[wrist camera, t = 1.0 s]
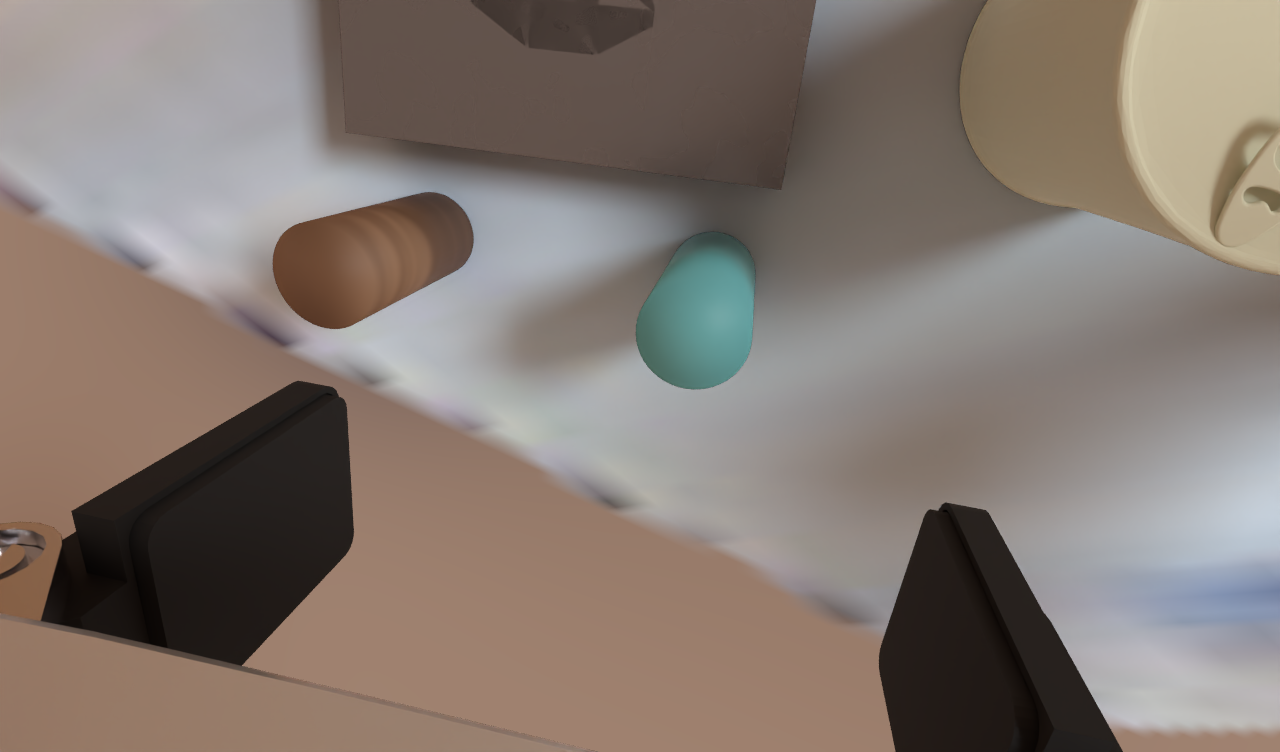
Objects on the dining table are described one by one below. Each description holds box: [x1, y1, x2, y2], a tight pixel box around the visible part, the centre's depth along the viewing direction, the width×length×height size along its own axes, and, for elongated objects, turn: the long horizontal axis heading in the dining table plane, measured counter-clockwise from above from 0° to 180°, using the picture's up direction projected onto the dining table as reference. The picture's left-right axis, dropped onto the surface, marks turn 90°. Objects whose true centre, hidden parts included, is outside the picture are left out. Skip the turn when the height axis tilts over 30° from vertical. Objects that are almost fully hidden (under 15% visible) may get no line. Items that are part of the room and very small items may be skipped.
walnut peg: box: [273, 192, 473, 329], centre depth 25 cm, size 4×4×8 cm
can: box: [959, 0, 1280, 275], centre depth 17 cm, size 9×9×12 cm
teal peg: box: [636, 232, 755, 389], centre depth 24 cm, size 4×4×8 cm
